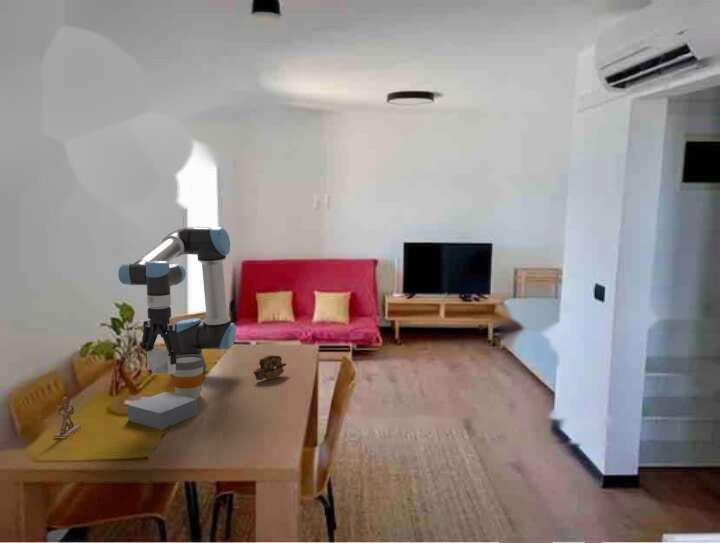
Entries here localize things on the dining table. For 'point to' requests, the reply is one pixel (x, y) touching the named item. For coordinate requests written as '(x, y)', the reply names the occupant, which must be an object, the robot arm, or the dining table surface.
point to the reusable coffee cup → (188, 375)
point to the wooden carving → (269, 368)
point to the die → (158, 361)
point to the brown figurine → (71, 427)
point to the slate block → (162, 410)
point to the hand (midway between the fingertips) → (161, 371)
